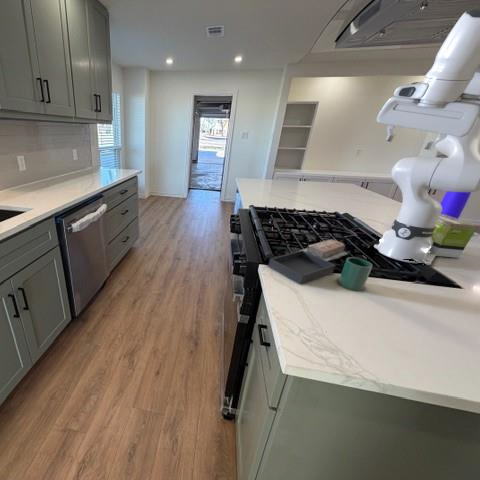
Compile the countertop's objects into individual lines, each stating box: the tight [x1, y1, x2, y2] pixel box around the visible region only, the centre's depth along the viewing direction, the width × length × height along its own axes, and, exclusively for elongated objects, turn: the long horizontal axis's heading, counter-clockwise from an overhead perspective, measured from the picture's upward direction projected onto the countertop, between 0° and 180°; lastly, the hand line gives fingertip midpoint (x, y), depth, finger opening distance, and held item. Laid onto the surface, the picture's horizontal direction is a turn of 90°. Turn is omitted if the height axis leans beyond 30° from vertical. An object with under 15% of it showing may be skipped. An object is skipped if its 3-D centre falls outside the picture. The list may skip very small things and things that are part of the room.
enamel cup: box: [338, 256, 373, 292], centre depth 82 cm, size 7×7×8 cm
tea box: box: [430, 214, 479, 259], centre depth 109 cm, size 15×10×15 cm
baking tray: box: [268, 249, 336, 285], centre depth 92 cm, size 18×13×3 cm
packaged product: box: [299, 238, 350, 262], centre depth 103 cm, size 18×5×10 cm
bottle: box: [440, 191, 472, 219], centre depth 127 cm, size 8×8×30 cm
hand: (407, 144), depth 74 cm, fingers open, 8 cm apart
